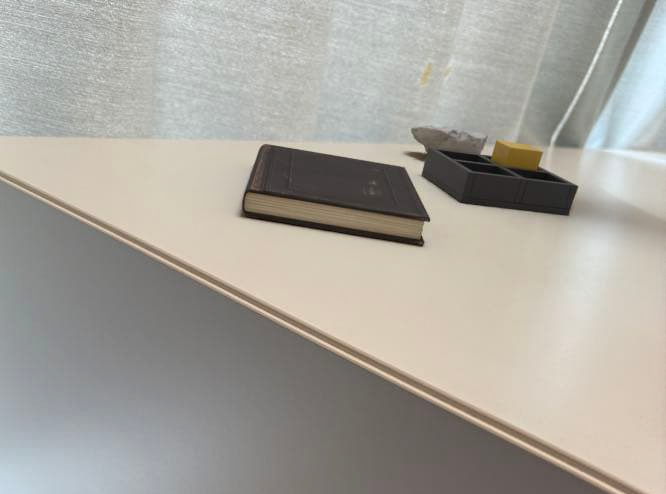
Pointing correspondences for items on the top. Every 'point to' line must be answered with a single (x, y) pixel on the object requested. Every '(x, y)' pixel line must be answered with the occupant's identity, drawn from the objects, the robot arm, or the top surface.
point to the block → (516, 155)
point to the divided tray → (497, 182)
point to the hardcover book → (334, 194)
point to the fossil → (450, 139)
